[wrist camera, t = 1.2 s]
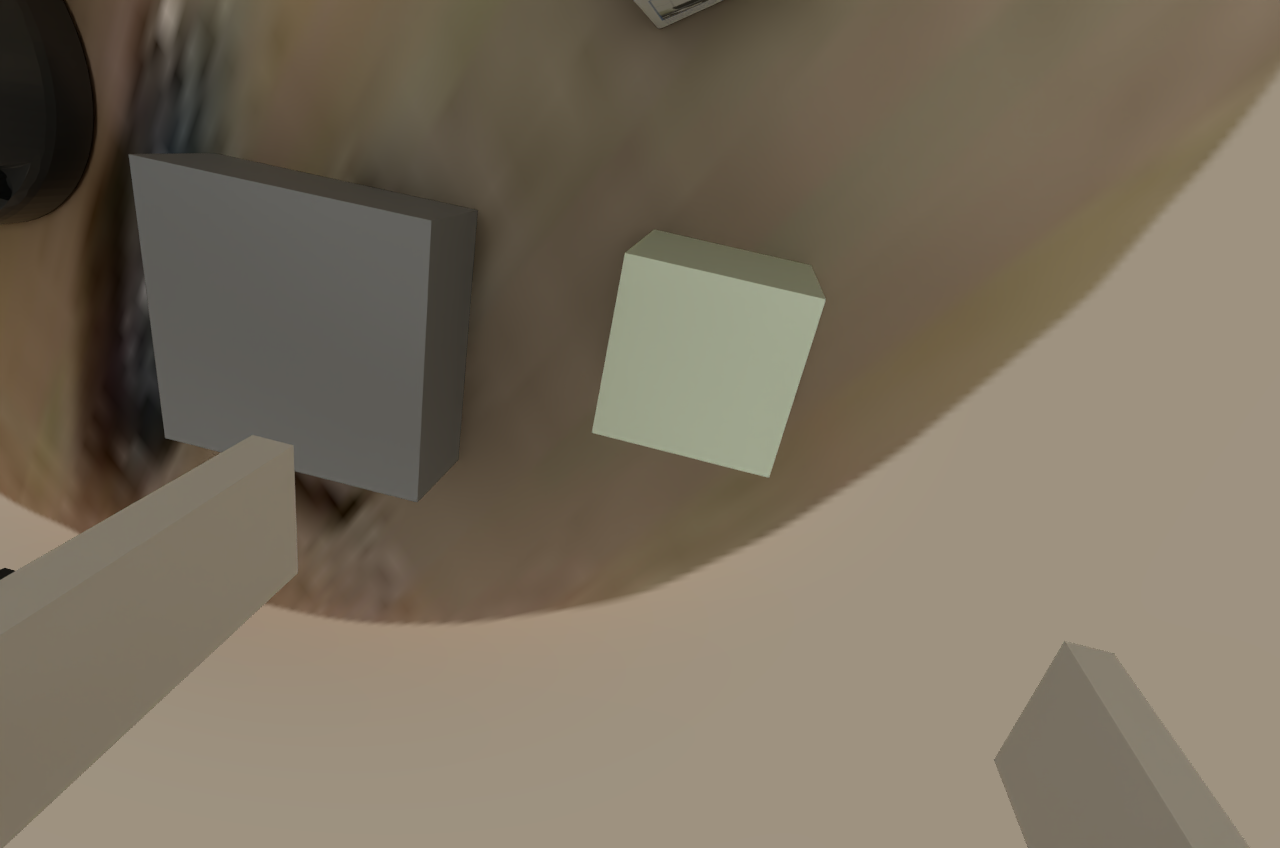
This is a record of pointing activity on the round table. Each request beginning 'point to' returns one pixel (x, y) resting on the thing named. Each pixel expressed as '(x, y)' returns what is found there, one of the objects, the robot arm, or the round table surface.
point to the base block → (307, 316)
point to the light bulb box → (672, 9)
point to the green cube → (707, 350)
